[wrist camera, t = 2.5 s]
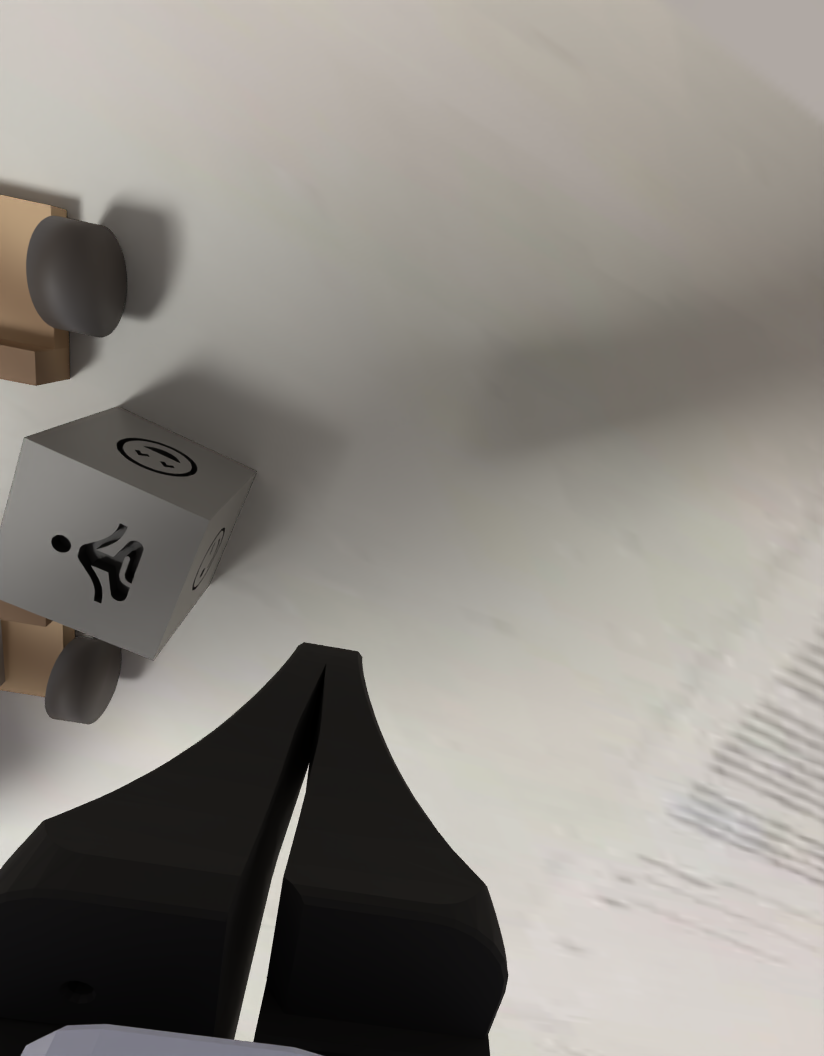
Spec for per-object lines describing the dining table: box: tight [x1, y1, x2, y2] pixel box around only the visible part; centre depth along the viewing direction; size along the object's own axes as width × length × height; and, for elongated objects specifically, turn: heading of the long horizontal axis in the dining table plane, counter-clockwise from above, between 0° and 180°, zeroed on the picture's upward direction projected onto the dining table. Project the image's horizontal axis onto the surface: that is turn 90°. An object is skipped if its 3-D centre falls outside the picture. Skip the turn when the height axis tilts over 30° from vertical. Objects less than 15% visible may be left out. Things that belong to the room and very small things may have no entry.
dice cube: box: [0, 406, 257, 661], centre depth 18 cm, size 5×5×5 cm
